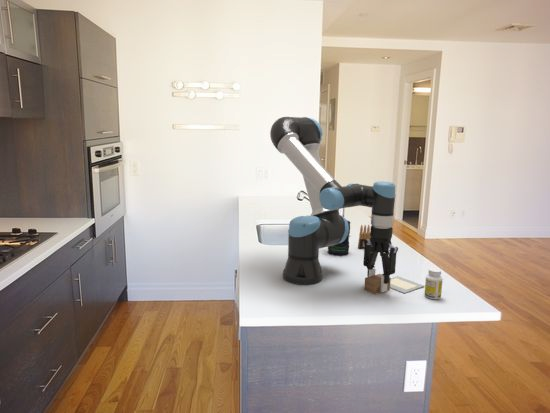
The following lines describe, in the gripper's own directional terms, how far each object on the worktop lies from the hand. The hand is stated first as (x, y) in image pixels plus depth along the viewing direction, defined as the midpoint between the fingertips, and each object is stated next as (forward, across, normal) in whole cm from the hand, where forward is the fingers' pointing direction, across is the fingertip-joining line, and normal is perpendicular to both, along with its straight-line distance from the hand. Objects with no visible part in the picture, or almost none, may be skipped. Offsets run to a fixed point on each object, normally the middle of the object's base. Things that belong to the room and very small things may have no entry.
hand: (377, 288), depth 149 cm
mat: (0, -2, -11) cm, 11 cm away
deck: (0, 0, 0) cm, 0 cm away
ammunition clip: (+1, +37, -38) cm, 53 cm away
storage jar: (0, +40, -20) cm, 45 cm away
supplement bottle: (+1, -15, -11) cm, 19 cm away
